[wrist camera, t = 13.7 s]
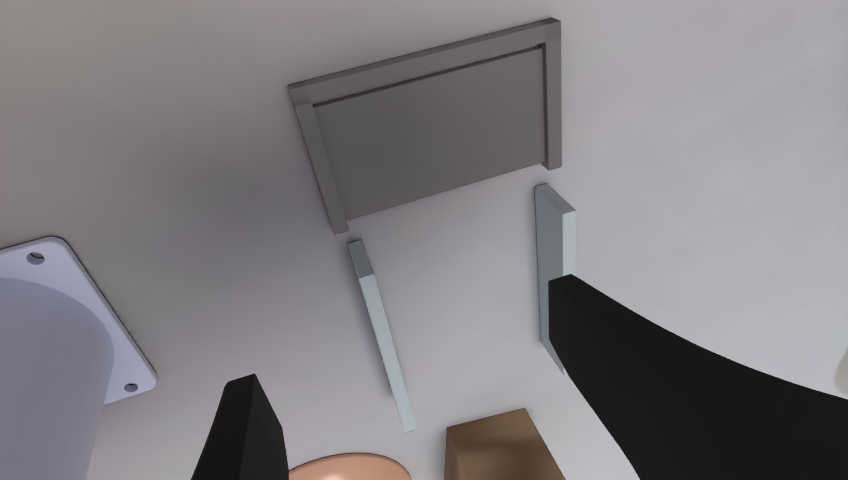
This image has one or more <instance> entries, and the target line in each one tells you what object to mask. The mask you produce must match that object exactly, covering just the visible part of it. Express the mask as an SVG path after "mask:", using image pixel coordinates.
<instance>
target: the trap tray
mask: <svg viewBox="0 0 848 480" xmlns="http://www.w3.org/2000/svg"><path fill="white" fill-rule="evenodd" d="M536 44H539V46H538V47H534V48H530V49H526V50H522V51H519V52H515V53H511V54H507V55H503V56H499V57H496V58H492V59H488V60H484V61H480V62H476V63H473V64H469V65H465V66H461V67H457V68H453V69H450V70H446V71H442V72H438V73H434V74H431V75H427V76H423V77H419V78H415V79H411V80H408V81H404V82H400V83H396V84H392V85H388V86H385V87H381V88H377V89H373V90H369V91H365V92H362V93H358V94H354V95H350V96H346V97H342V98H339V99H335V100H331V101H327V102H323V103H320V104H316V105H312V103H313V102H317V101H321V100H325V99H328V98H332V97H336V96H340V95H344V94H348V93H352V92H355V91H359V90H363V89H367V88H371V87H375V86H378V85H382V84H386V83H390V82H394V81H398V80H401V79H405V78H409V77H413V76H417V75H421V74H424V73H428V72H432V71H436V70H440V69H444V68H447V67H451V66H455V65H459V64H463V63H467V62H471V61H474V60H478V59H482V58H486V57H490V56H494V55H497V54H501V53H505V52H509V51H513V50H517V49H520V48H524V47H528V46H532V45H536ZM288 88H289V91H290V94H291V97H292V101H293V104H294V107H295V110H296V113H297V117H298V120H299V123H300V126H301V129H302V132H303V136H304V139H305V142H306V145H307V148H308V152H309V155H310V158H311V161H312V164H313V168H314V171H315V174H316V177H317V180H318V184H319V187H320V190H321V193H322V196H323V200H324V203H325V206H326V209H327V212H328V215H329V219H330V222H331V225H332V228H333V231H334V235H336V234H340V233H343V232H346V231H349V228H348V225H347V222H346V221H347V220H350V219H354V218H357V217H360V216H364V215H367V214H371V213H374V212H377V211H381V210H384V209H387V208H391V207H394V206H397V205H401V204H404V203H408V202H411V201H414V200H418V199H421V198H424V197H428V196H431V195H434V194H438V193H441V192H444V191H448V190H451V189H455V188H458V187H461V186H465V185H468V184H471V183H475V182H478V181H481V180H485V179H488V178H492V177H495V176H498V175H502V174H505V173H508V172H512V171H515V170H518V169H522V168H525V167H529V166H532V165H535V164H539V163H542V165H543V166H544V167H545V168H547V169H548V170H553V169H556V168H559V167H562V140H561V21H559V20H557V19H554V18H550V19H546V20H542V21H538V22H535V23H531V24H527V25H523V26H519V27H515V28H511V29H507V30H503V31H499V32H495V33H491V34H487V35H483V36H479V37H475V38H471V39H467V40H464V41H460V42H456V43H452V44H448V45H444V46H440V47H436V48H432V49H428V50H424V51H420V52H416V53H412V54H408V55H404V56H400V57H396V58H393V59H389V60H385V61H381V62H377V63H373V64H369V65H365V66H361V67H357V68H353V69H349V70H345V71H341V72H337V73H333V74H329V75H326V76H322V77H318V78H314V79H310V80H306V81H302V82H298V83H294V84H290V85H288Z"/></svg>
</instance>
